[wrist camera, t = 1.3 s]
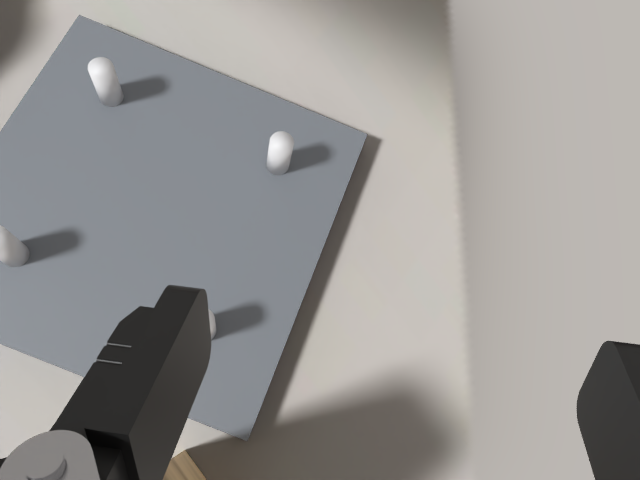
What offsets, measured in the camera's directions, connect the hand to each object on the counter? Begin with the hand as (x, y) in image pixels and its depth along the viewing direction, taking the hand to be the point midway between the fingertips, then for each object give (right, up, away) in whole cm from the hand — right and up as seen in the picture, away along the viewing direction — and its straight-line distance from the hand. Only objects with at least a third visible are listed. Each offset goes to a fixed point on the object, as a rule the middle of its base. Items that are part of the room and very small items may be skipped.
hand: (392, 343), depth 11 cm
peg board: (-11, +4, +22) cm, 25 cm away
